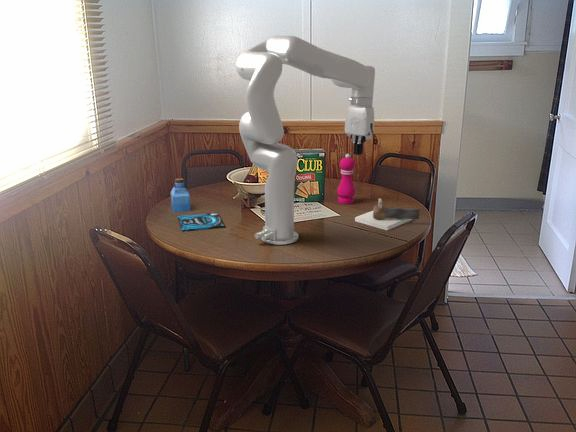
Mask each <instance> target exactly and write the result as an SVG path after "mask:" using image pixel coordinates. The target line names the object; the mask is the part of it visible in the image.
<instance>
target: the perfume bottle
mask: <svg viewBox="0 0 576 432" xmlns="http://www.w3.org/2000/svg"><path fill="white" fill-rule="evenodd" d="M174 181H175V182H174V186H173V187H172V189H171V191H170V204H171V205H170V206H171V209H172V211H173V213H181V212H182V213H183V212H191V210H192V209H191V196H190V193H189V191H188V190H187V188H186V187H185V182H184V178H181V177H180V178H179V177H178V178H175V179H174Z"/></svg>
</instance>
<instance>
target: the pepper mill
mask: <svg viewBox="0 0 576 432" xmlns="http://www.w3.org/2000/svg"><path fill="white" fill-rule="evenodd" d="M355 166H356V164H355V159H354V158H351V155H350V154H349V153H346V154H345V157H343V158H341V159H340V162H339V168H340V174H341V179H340V180H341V181H340V183H339V185H338V186H337V192H336V193H337V195H338V197H337V202H338V204H340V205H351V204H353V203H354V196H355V194H356V189H355V185H354V184H353V179H352V177H353V174H354V168H355Z"/></svg>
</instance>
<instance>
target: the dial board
mask: <svg viewBox="0 0 576 432" xmlns="http://www.w3.org/2000/svg"><path fill="white" fill-rule="evenodd" d="M412 220H413V219H398V218H384V219H375V218H373V210H371V211H368V212H366V213H362V214H360V215H358V216H355V217H354V222H357V223H361V224H363V225H364V224H365V225H367V226H370V227H373V228H374V227H375V228H377V229H381V230H384V231H389V230H392V229H394V228H396V227H399V226H401V225H403V224H406V223H408V222H410V221H412Z"/></svg>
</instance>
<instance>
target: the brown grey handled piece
mask: <svg viewBox="0 0 576 432" xmlns="http://www.w3.org/2000/svg"><path fill="white" fill-rule="evenodd" d="M372 211H373V218H375V219H384V218H398V219H412V220H419V218H420V208H402V207H398V208H397V207H387V206H385V205H383V200H382V198H378V202H377V204H375V205H373V210H372Z"/></svg>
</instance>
